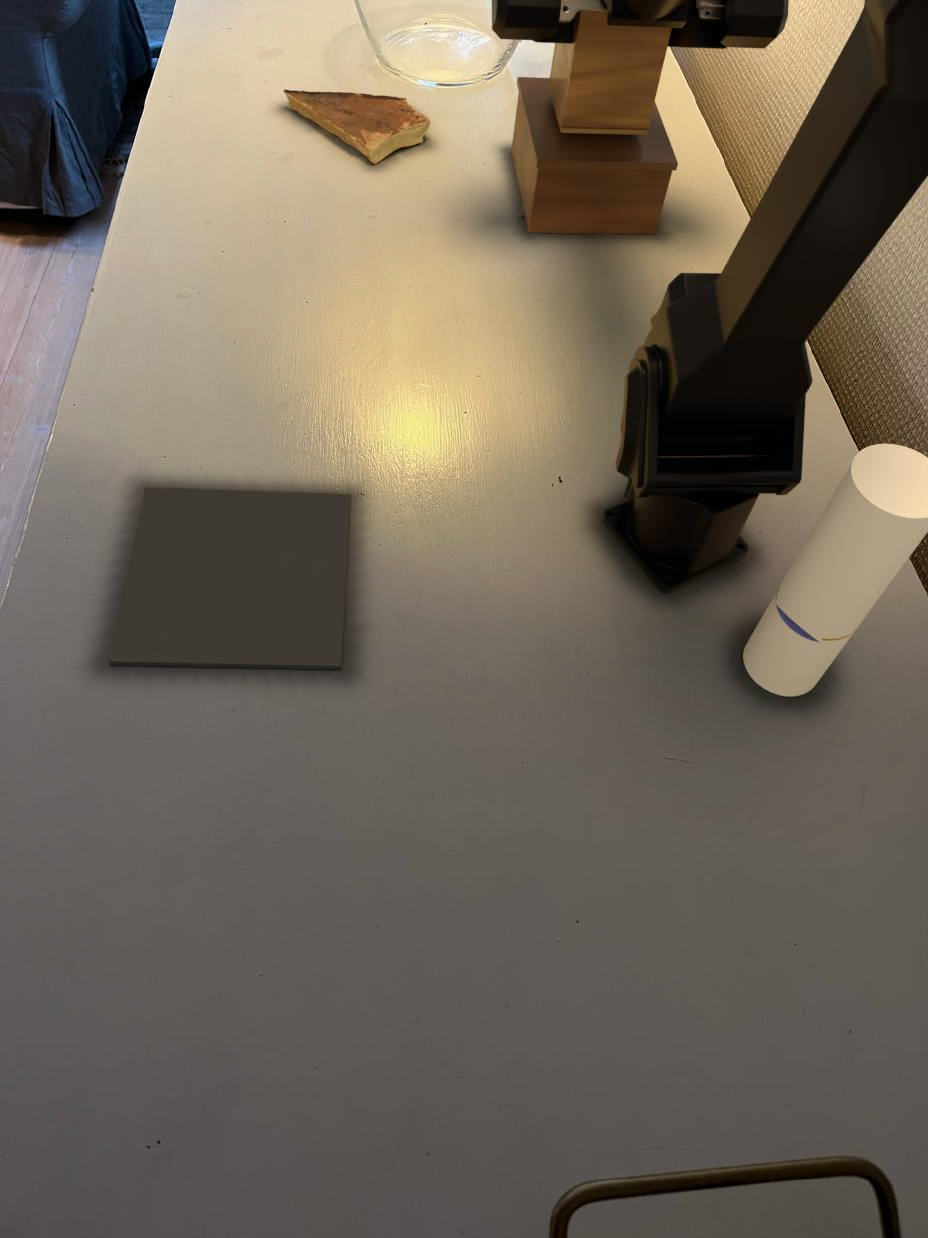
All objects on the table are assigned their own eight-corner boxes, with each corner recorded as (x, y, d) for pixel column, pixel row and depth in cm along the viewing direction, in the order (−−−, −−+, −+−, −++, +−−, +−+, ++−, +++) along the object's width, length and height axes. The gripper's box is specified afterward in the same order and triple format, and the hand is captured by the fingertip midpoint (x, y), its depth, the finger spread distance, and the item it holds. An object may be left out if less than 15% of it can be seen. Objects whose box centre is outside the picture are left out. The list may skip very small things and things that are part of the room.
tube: (815, 635, 56) (941, 450, 44) (823, 701, 54) (959, 524, 41) (740, 626, 56) (845, 438, 44) (745, 691, 54) (857, 511, 41)
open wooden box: (646, 135, 72) (678, 1, 65) (560, 133, 71) (582, -2, 64) (630, 89, 76) (658, -42, 68) (548, 86, 75) (567, -47, 67)
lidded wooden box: (658, 235, 76) (678, 163, 71) (526, 234, 75) (537, 159, 70) (630, 152, 83) (647, 80, 78) (508, 149, 81) (517, 76, 76)
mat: (341, 669, 52) (341, 666, 52) (110, 665, 51) (108, 661, 51) (351, 498, 59) (350, 493, 59) (146, 491, 58) (144, 486, 58)
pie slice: (284, 107, 82) (282, 85, 81) (354, 79, 86) (354, 58, 84) (369, 167, 78) (369, 145, 77) (439, 135, 82) (440, 114, 80)
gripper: (845, -227, 55) (736, -84, 70) (513, -251, 53) (475, -97, 68) (833, -6, 57) (729, 86, 72) (513, -20, 55) (476, 79, 70)
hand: (605, 36), depth 70 cm, fingers closed on open wooden box, 6 cm apart
